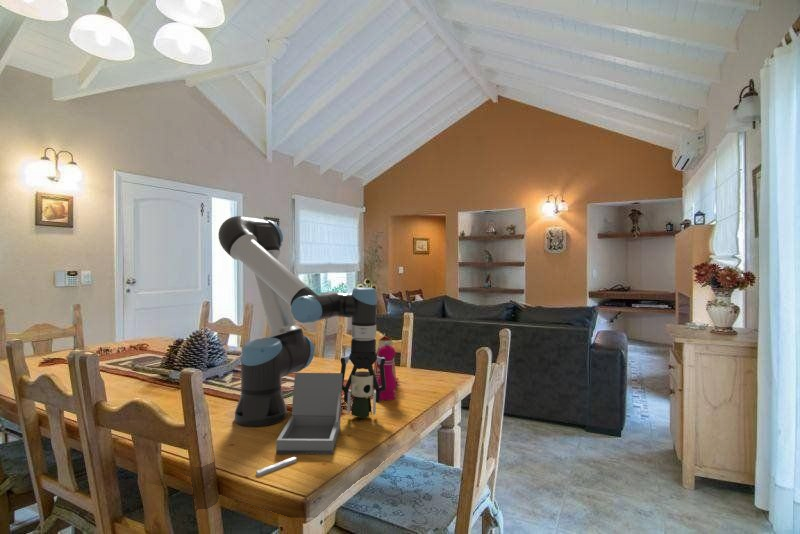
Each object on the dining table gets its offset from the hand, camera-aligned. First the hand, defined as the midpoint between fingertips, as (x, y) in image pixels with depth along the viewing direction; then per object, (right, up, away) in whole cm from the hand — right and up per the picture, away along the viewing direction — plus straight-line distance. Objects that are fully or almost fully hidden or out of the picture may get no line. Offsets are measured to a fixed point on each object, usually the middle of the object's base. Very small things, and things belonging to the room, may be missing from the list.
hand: (361, 412), depth 134 cm
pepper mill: (+7, -2, +20) cm, 21 cm away
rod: (-17, -3, -32) cm, 36 cm away
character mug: (0, -1, 0) cm, 1 cm away
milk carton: (+6, -1, +39) cm, 39 cm away
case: (-12, -2, -14) cm, 19 cm away
